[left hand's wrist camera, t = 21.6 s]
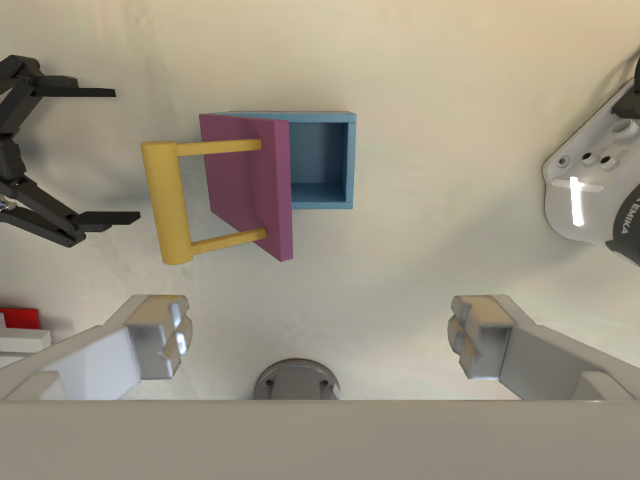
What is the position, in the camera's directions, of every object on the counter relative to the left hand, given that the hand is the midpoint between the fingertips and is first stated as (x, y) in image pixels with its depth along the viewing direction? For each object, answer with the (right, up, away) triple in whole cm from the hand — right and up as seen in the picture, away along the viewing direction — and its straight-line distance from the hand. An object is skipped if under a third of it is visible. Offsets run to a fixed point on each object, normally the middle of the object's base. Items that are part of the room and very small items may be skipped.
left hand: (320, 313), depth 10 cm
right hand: (-22, +11, +27) cm, 37 cm away
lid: (-7, +8, +20) cm, 22 cm away
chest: (-4, +14, +35) cm, 38 cm away
